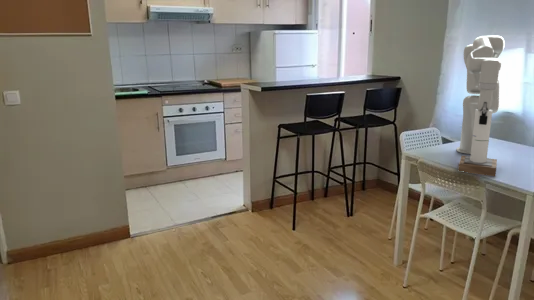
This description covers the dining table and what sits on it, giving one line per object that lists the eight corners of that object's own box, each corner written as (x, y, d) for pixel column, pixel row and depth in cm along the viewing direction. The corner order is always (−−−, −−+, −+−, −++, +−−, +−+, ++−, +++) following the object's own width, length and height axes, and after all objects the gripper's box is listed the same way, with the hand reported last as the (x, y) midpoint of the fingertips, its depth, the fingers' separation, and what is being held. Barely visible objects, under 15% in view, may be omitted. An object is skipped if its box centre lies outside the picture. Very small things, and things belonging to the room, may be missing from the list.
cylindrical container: (479, 158, 208) (485, 108, 201) (489, 162, 201) (496, 110, 194) (466, 159, 206) (472, 109, 200) (476, 163, 200) (482, 111, 193)
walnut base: (460, 162, 215) (461, 154, 214) (495, 167, 208) (497, 158, 207) (457, 171, 202) (458, 163, 200) (495, 176, 194) (496, 167, 193)
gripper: (479, 84, 203) (475, 118, 208) (477, 88, 188) (473, 125, 193) (497, 84, 199) (492, 119, 204) (496, 89, 185) (491, 126, 189)
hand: (483, 122), depth 198 cm, fingers open, 9 cm apart
